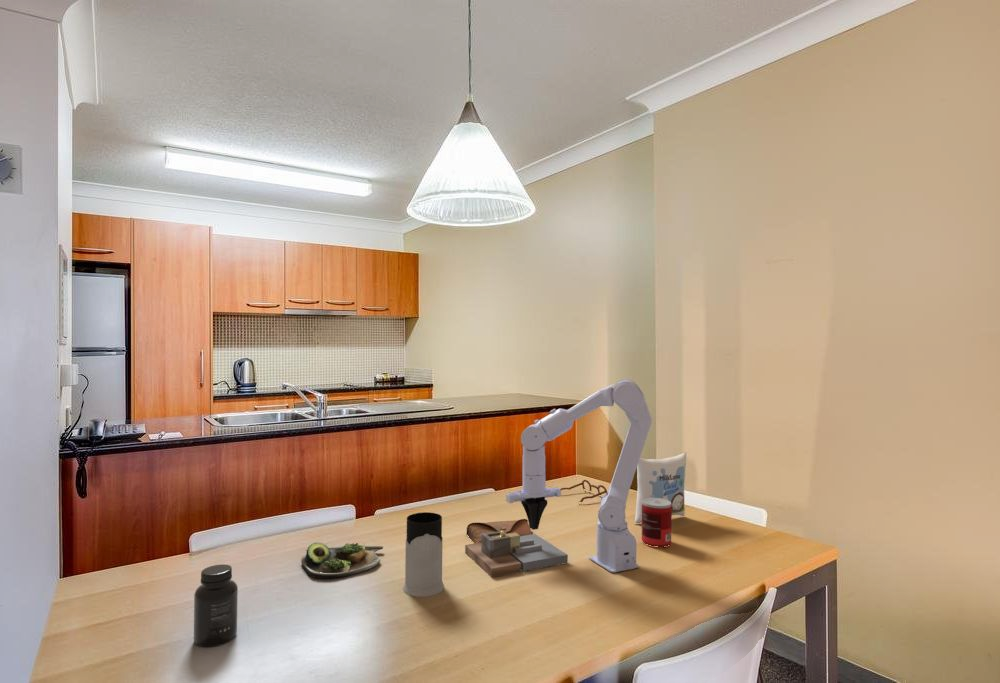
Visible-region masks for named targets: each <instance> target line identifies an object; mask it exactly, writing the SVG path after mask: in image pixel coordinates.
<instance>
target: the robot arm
mask: <svg viewBox="0 0 1000 683" xmlns="http://www.w3.org/2000/svg"><path fill="white" fill-rule="evenodd" d="M614 404H615V405H616V406H618V407H619V408H620V410H622V411H623V412H624V413H625V415H626V417H627V419H628V421H629V422H630V424H629V427H628V429H627V433H626V436H625V440H624V442H623V445H622V448H621V451H620V455H619V458H618V461H617V463H616V467H615V469H614V473H613V477H612V479H611V482H610V484H609V487H608V490H607V493H604V495H602V496H603V497H602V498H601V499H600V501H599V509H598V511H597V512H598V513H597V518H598V520H597V522H596V555H592V556H589V557H588V558H589V560H591V562H594V563H595V564H597V565H599V566H600V567H602V568H603V569H605V570H607V571H608V572H610V573H612V574H613V573H614V574H615V573H619V572H624V571H628V570H633V568H634V569H638V568H640V565H639V564H638V563H637V539H636V537H635V536H634V535H633V534H632V533H631V532H630V530H629V528H628V522H627V521H626V506H627V500H628V496H629V491H630V489H631V486H632V483H633V481H634V477H635V474H636V472H637V465H638V462H639V459H640V458H641V455H642V453H643V450H644V446H645V444H646V440H647V437H648V434H649V432H650V428H651V425H652V417H651V414H650V411H649V407H648V405H647V404H648V403H647V401H646V398H645V395H644V392H643V390H642V389H641V388H640V387H639V385H638V384H637V383H636V382H635V381H633V379H632V380H631V379H630V378H628V379H627V378H624V379H621V380H619V381H618V382H616V383H612V384H609V385H607V386H605V387H603V388H600V389H599V390H597V391H595V392H594V393H592V394H591V395H589V396H587V397H585V398H584V399H583V400H581V401H580V402H578V403H576V404H575V405H573V406H572V407H570V408H568V409H565V408H561V407H560V408H558V409H556V408H553V409H551V410H550V411H549V413H550V414H548V415H546V416H544V417H542V418H541V419H535V420H534V421H533V422H534V424H531V425H529V426H527V427H526V428H525V429H524V430H523V431H522V433H521V436H520V443H521V444H522V489H521V490H517V491H514V492H510V493H509V492H508V493H505V494H506V495H505V496H506V498H505V499H506V500H505V501H506V503H508V504H514V503H516V502H521V505H522V507H523V509H524V511H525V514H526V517H527V520H528V524H529V527H530V529H531V530H535V531H536V530H539V527H540V522H541V518H542V516H543V513H544V511H545V509H546V507H547V506H548V500H547V499H546V498H554V497H556V498H560V497H561V496H562V494H561V493H562V490H561V488H559V487H557V486H556V487H555V486H554V487H546V454H545V452H546V449H545V448H546V446H545V444H546V442H551V441H553V440H555V439H556V438H558V437H559V436H561V435H563V434H565V433H567V432H568V431H570V430H572V428H573V426H574V423H575V422H574V421H576V420H578V419H580V418H582V417H584V416H586V415H587V414H589V413H591V412H593V411H595V410H596V409H598V408H601V407H614Z"/></svg>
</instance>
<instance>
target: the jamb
mask: <svg viewBox="0 0 1000 683" xmlns="http://www.w3.org/2000/svg"><path fill="white" fill-rule="evenodd" d="M495 535H500V531H498V532H491V533H484V534H482V539H481V543H468V544H465V546H464V547H465V548H464V553H465V554H466V555H467V556H468V557H469V558H470V559H471V558H472V559H471V560H472V561H473V560H474V561H475V562H474V561H473V562H474V563H475V564H476V565H477V566H478V567H480V568H481V569H482V570H483V571H484V572H485V573H486V574H487V573H488V576H490V577H491V578H496V576H497V577H501V576H506V575H507V574H508V575H512V573H513V574H518V573H521V572H522V570H521V563H520V562H519V561H518V560H516V559H515V558H514V557H512V556H511V555H510V549H511V537H509V536H506V537H499V538H493V539H492V538H491V537H490V536H495ZM517 572H518V573H517Z"/></svg>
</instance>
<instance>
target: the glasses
mask: <svg viewBox="0 0 1000 683" xmlns="http://www.w3.org/2000/svg"><path fill="white" fill-rule="evenodd" d="M585 483H587V484H588V487H589V491H591V492H592V488H593V489H596V490H597V492H598V493H596V494H593V495H591V496H584V497H582V498H581V499H580V501H579V502H582V503H583V501H584V500H587V499H594V498H596V497H598V496H599V495H603V494H606V493H607V492H608V490H607V488H606V487H605V486H604V485H601V484H600V485H598V486H596V485H594V484H591V483H590V481H589V480H587V479H583V480H582V481H581V482H580V483H577V484H575V485H572V486H570V487H561V488H560V489H561V491H563V490H569V491H570V490H573V489H575V488H577V487H580V486H581V485H582V489H583V490H584V489H586V488H585ZM600 488H602V489H604V490H603V491H601V490H600ZM599 497H600V496H599Z"/></svg>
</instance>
